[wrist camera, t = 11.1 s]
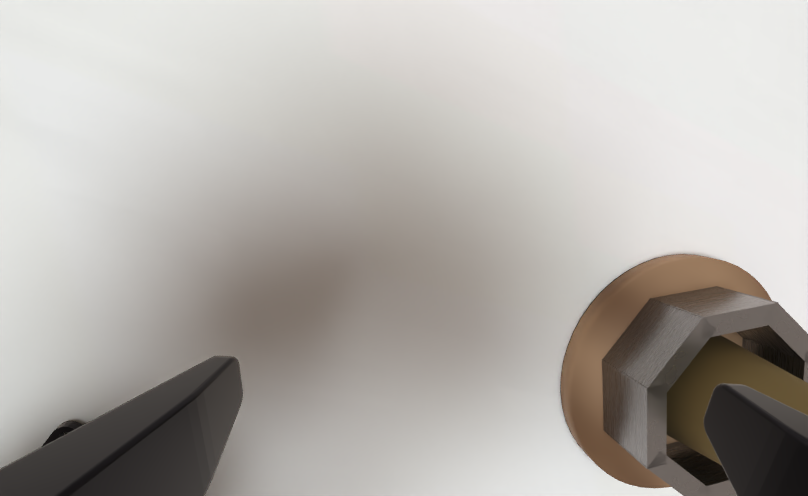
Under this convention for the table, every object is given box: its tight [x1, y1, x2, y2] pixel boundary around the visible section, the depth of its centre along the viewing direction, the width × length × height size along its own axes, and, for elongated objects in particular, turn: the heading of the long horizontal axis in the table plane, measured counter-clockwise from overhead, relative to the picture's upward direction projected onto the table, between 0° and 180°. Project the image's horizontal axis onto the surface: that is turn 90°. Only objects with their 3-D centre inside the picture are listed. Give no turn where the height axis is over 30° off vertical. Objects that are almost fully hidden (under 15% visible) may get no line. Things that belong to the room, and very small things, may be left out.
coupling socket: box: [561, 254, 808, 496], centre depth 21 cm, size 13×13×4 cm
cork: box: [667, 335, 808, 465], centre depth 17 cm, size 6×6×11 cm
